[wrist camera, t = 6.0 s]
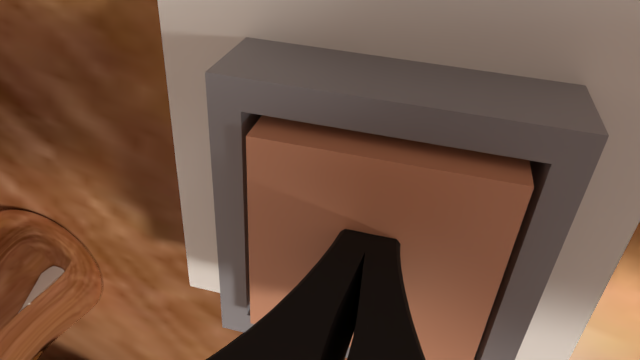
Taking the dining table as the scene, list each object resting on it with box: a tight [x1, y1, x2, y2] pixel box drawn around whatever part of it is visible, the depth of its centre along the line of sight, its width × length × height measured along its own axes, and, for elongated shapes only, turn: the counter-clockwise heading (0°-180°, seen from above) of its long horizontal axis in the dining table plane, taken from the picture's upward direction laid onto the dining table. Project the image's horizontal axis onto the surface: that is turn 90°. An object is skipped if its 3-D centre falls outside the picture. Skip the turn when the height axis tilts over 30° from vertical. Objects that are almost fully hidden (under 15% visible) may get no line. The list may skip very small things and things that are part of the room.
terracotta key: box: [246, 115, 534, 360], centre depth 14 cm, size 6×6×3 cm
